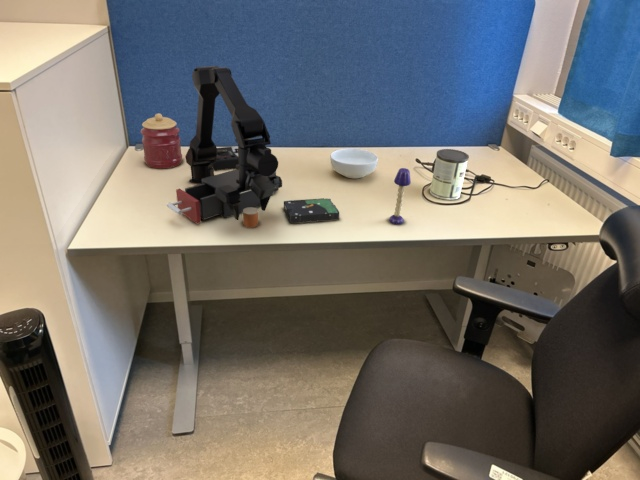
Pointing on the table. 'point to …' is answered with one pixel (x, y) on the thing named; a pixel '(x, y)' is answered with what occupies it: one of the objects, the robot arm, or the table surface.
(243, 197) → the drawer cabinet
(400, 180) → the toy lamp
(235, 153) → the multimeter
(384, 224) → the table surface
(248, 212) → the brown short cylinder
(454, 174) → the coffee can
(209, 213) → the pod drawer
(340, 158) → the cereal bowl
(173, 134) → the kitchen canister
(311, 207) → the disk drive
